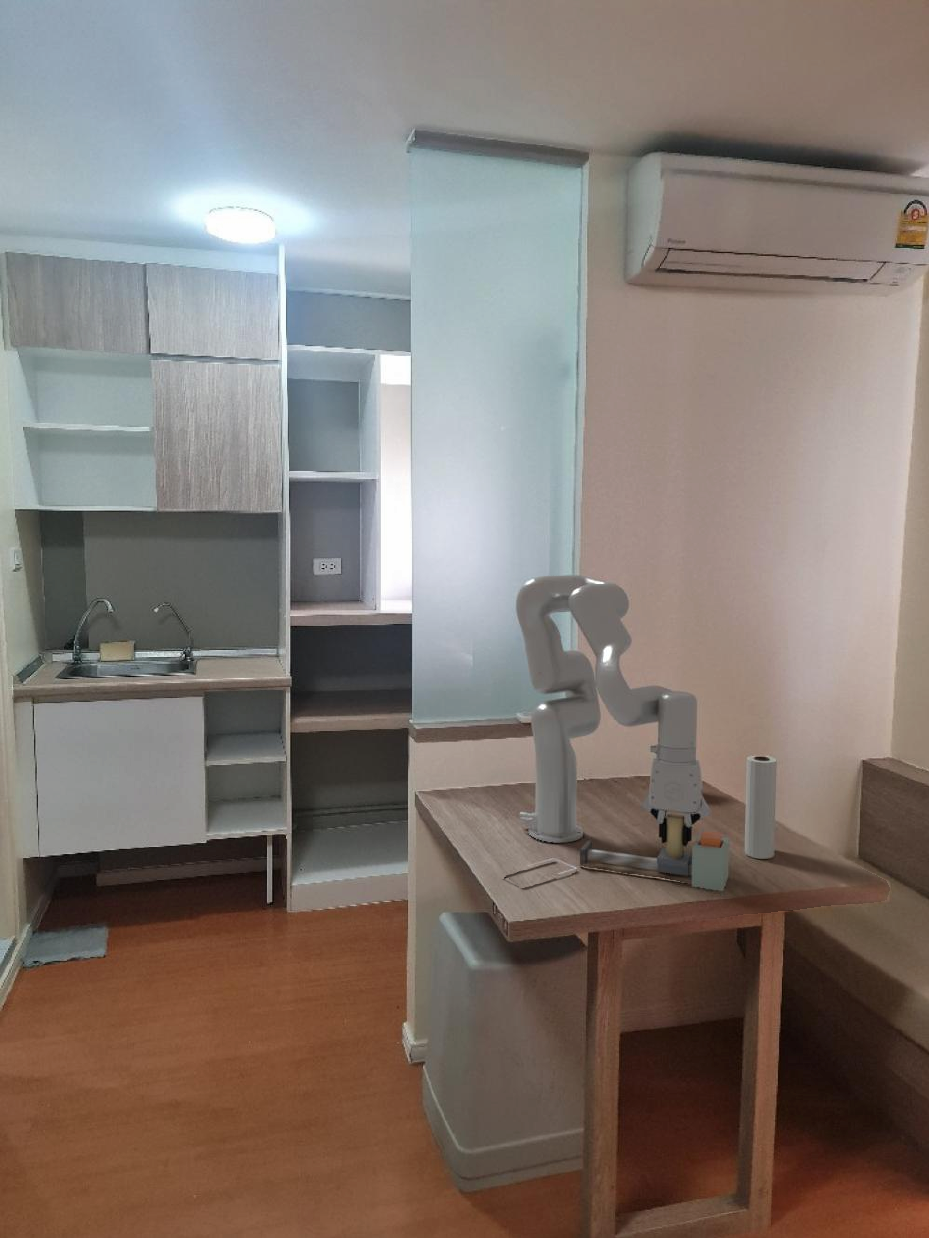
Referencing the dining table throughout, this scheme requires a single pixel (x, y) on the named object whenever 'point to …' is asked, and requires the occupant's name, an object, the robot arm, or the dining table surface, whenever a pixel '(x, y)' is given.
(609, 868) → the rail base
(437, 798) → the dining table surface
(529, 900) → the dining table surface
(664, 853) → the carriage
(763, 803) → the paper towel roll
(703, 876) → the green button housing
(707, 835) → the button
